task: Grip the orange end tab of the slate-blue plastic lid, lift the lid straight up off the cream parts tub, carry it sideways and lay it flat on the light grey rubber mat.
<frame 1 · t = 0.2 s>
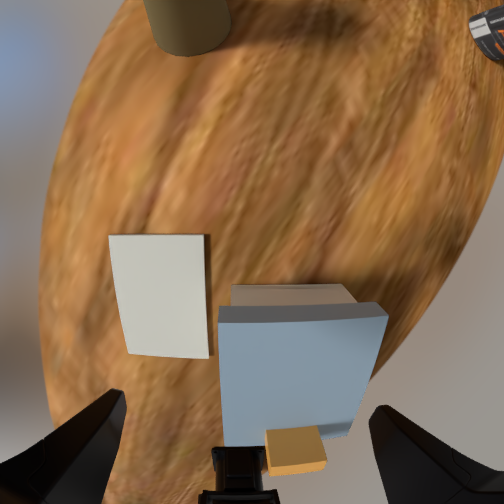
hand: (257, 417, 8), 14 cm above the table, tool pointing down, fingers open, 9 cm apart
lid: (296, 388, 18), point 6 cm above the table, touching parts tub
pill bottle: (482, 39, 16), on the table
cork: (192, 26, 16), on the table
parts tub: (283, 341, 24), on the table
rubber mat: (160, 300, 22), on the table
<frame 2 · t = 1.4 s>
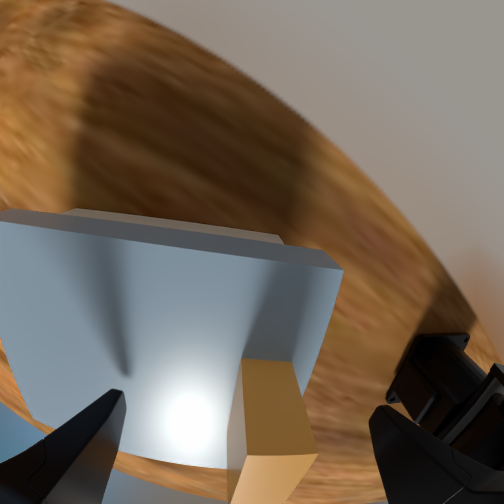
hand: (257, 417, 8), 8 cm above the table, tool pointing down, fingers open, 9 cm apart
lid: (131, 370, 9), point 6 cm above the table, touching parts tub
parts tub: (163, 300, 15), on the table
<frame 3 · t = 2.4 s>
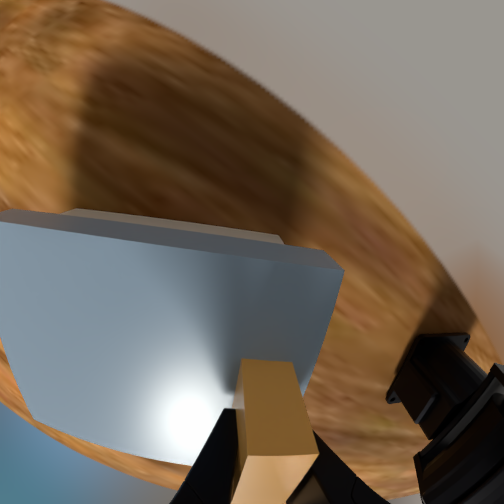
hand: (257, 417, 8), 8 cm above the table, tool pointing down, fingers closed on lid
lid: (131, 370, 9), point 6 cm above the table, touching gripper, parts tub
parts tub: (163, 300, 15), on the table
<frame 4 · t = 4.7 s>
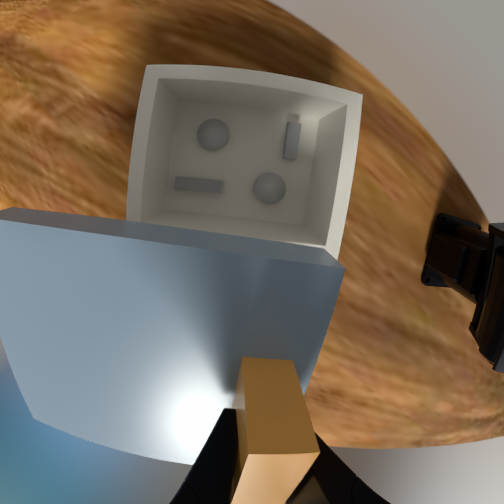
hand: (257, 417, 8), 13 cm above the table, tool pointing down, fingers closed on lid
lid: (131, 369, 9), point 12 cm above the table, touching gripper
parts tub: (241, 161, 18), on the table
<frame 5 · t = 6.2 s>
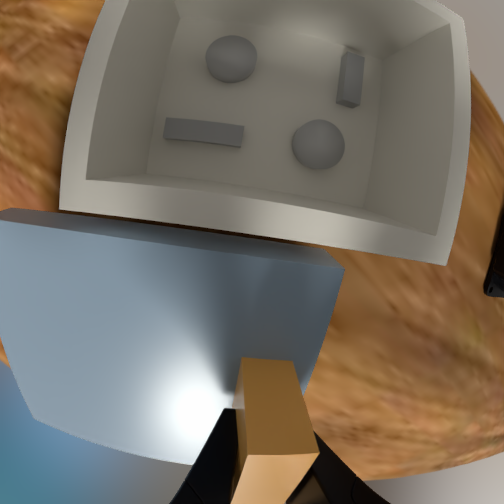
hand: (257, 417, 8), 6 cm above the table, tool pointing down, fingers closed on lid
lid: (131, 369, 9), point 5 cm above the table, touching gripper
parts tub: (271, 105, 11), on the table
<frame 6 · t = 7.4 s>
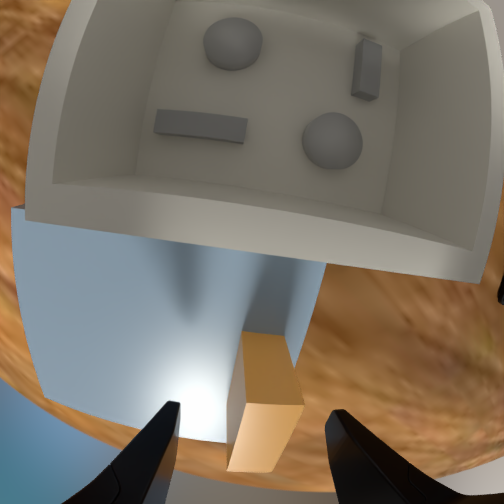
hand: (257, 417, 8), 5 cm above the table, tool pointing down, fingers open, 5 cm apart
lid: (144, 345, 11), point 1 cm above the table
parts tub: (277, 97, 10), on the table
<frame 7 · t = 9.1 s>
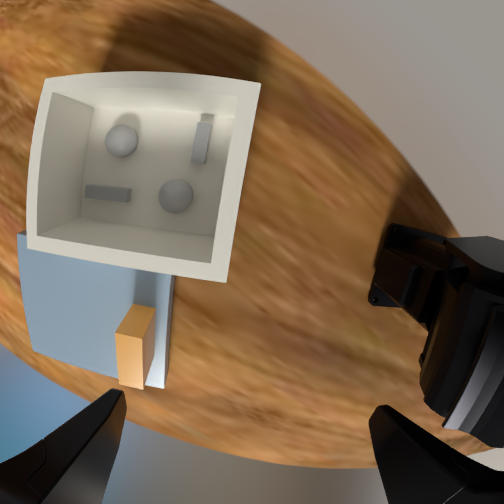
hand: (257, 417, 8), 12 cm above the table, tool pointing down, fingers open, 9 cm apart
lid: (88, 312, 18), point 1 cm above the table
parts tub: (152, 167, 17), on the table
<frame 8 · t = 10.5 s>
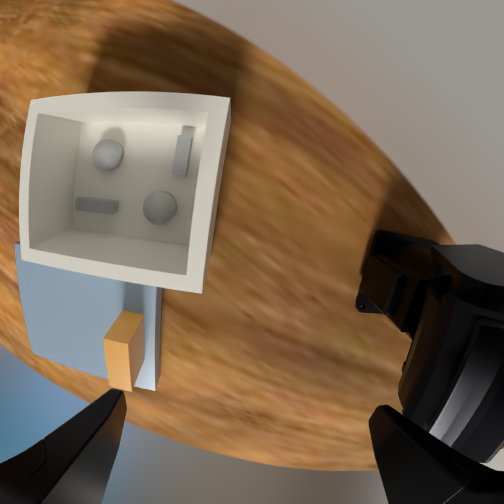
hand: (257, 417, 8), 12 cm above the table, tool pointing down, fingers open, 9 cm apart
lid: (83, 317, 18), point 1 cm above the table
parts tub: (138, 179, 17), on the table
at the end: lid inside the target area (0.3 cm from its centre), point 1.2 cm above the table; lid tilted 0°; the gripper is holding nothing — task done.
